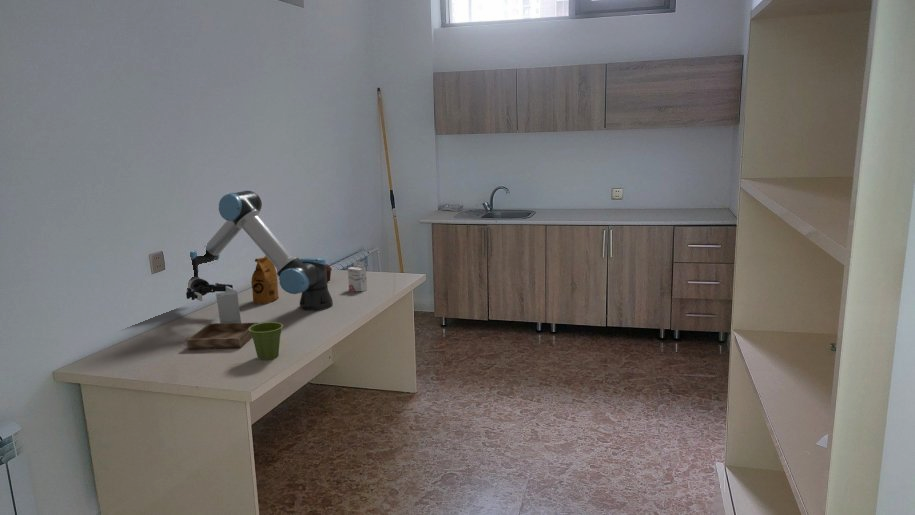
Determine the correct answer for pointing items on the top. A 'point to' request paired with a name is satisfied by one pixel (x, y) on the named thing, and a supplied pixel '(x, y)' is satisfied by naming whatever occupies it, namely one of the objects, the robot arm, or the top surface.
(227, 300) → the skincare box
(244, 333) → the walnut tray
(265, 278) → the coffee package
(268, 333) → the plant pot
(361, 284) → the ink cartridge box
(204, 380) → the top surface
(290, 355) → the top surface
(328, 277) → the muffin
